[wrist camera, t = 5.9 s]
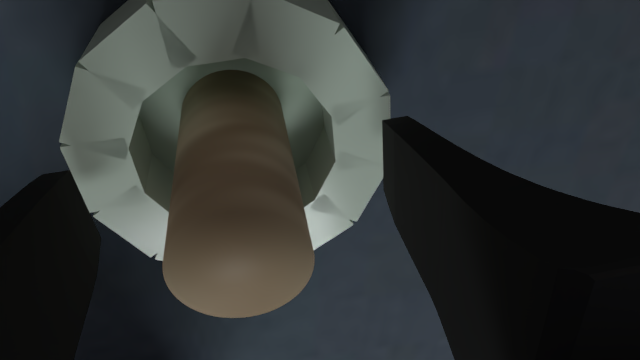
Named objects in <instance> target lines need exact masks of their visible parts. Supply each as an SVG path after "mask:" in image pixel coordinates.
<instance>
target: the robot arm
mask: <svg viewBox="0 0 640 360" xmlns="http://www.w3.org/2000/svg"><path fill="white" fill-rule="evenodd" d="M382 138H383V182H384V192H385V196H386V199H387V202H388V205H389V208H390V211H391V214H392V217H393V220H394V223H395V225H396V227H397V229H398V231H399V233H400V235H401V237H402V239H403V241H404V243H405V246H406V248H407V250H408V252H409V254H410V256H411V258H412V260H413V262H414V264H415V266H416V268H417V270H418V272H419V274H420V276H421V278H422V280H423V282H424V284H425V286H426V288H427V290H428V292H429V294H430V296H431V298H432V301H433V303H434V305H435V307H436V310H437V312H438V315H439V318H440V320H441V323H442V326H443V329H444V331H445V334H446V337H447V340H448V342H449V345H450V348H451V351H452V354H453V356H454V359H455V360H640V213H638V212H633V211H629V210H624V209H620V208H615V207H611V206H607V205H603V204H599V203H595V202H591V201H588V200H584V199H581V198H578V197H574V196H571V195H568V194H565V193H561V192H558V191H555V190H552V189H549V188H546V187H543V186H541V185H538V184H536V183H533V182H531V181H528V180H526V179H523V178H521V177H518V176H516V175H513V174H511V173H509V172H506V171H504V170H502V169H500V168H498V167H496V166H494V165H492V164H490V163H488V162H486V161H484V160H482V159H480V158H478V157H476V156H474V155H472V154H471V153H469V152H467V151H465V150H463V149H462V148H460V147H458V146H456V145H455V144H453V143H451V142H450V141H448V140H446V139H445V138H443V137H441V136H440V135H438V134H437V133H435V132H433V131H432V130H430V129H428V128H427V127H425V126H424V125H422V124H420V123H419V122H417V121H415V120H414V119H412V118H410V117H408V116H405V117H399V118H392V119H386V120H382ZM100 244H101V237H100V235H99V233H98V230H97V228H96V226H95V224H94V222H93V219H92V217H91V215H90V213H89V211H88V209H87V206H86V204H85V202H84V200H83V198H82V196H81V193H80V191H79V189H78V187H77V185H76V182H75V180H74V178H73V176H72V174H71V172H70V170H68V171H62V172H55V173H49V174H43V175H41V176H39V177H38V178H36V179H35V180H34V181H32V182H31V183H30V184H28V185H27V186H26V187H24V188H23V189H22V190H21V191H20V192H18V193H17V194H16V195H15V196H13V197H12V198H11V199H10V200H9V201H8V202H6V203H5V204H4V205H3V206H2V207H0V360H74V356H75V353H76V349H77V346H78V342H79V338H80V335H81V331H82V328H83V324H84V321H85V317H86V314H87V310H88V307H89V303H90V299H91V296H92V292H93V288H94V285H95V281H96V277H97V270H98V263H99V254H100Z"/></svg>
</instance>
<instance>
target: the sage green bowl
mask: <svg viewBox="0 0 640 360" xmlns="http://www.w3.org/2000/svg"><path fill="white" fill-rule="evenodd" d="M222 70H241V71H246V72H249V73H252V74H254V75H256V76H258V77H260V78H261V79H263V80H264V81H266V82H267V83H268V84H269V85H270V86H271V87H272V88H273V89H274V91H275V92H276V94H277V96H278V98H279V100H280V103H281V107H282V111H283V116H284V120H285V125H286V129H287V134H288V138H289V143H290V147H291V152H292V156H293V161H294V165H295V170H296V174H297V179H298V183H299V188H300V192H301V197H302V201H303V206H304V210H305V215H306V219H307V224H308V228H309V233H310V237H311V242H312V246H313V250H315V249H317V248H318V247H320V246H321V245H323V244H324V243H326V242H327V241H329V240H331V239H332V238H334V237H335V236H337V235H338V234H340V233H341V232H343V231H345V230H346V229H348V228H349V227H351V226H352V225H354V224H353V221H357V220H358V219H359V217H360V215H361V214H362V212H363V210H364V209H365V207H366V205H367V204H368V202H369V200H370V199H371V197H372V195H373V194H374V192H375V190H376V189H377V187H378V185H379V184H380V182H381V180H382V179H383V138H382V120H386V119H390V94H389V93H388V89H387V87H386V86H385V84H384V83H383V81H382V79H381V78H380V76H379V75H378V73H377V71H376V70H375V68H374V67H373V65H372V63H371V62H370V60H369V59H368V57H367V55H366V54H365V52H364V51H363V49H362V48H361V47H360V45H359V44H358V42H357V41H356V39H355V38H354V37H353V35H352V34H351V32H350V31H349V29H348V28H347V26H346V25H345V24H344V22H343V21H342V19H341V18H340V16H339V15H338V13H337V12H336V11H335V9H334V8H333V6H332V5H331V3H330V2H329V1H328V0H128V1H127V2H126V3H124V4H123V5H122V6H121V7H120V8H119V9H117V10H116V11H115V12H114V13H113V14H112V15H111V16H109V17H108V18H107V19H106V20H105V21H104V22H102V23H101V24H100V26H99V27H98V29H97V31H96V32H95V34H94V36H93V37H92V39H91V41H90V43H89V44H88V46H87V48H86V49H85V51H84V53H83V54H82V56H81V58H80V59H79V61H78V63H77V64H76V66H75V70H74V74H73V79H72V84H71V88H70V93H69V98H68V102H67V107H66V112H65V116H64V121H63V126H62V130H61V135H60V140H59V142H60V143H62V144H61V146H60V149H61V151H62V154H63V156H64V158H65V160H66V162H67V164H68V167H69V169H70V171H71V173H72V175H73V178H74V180H75V182H76V184H77V186H78V188H79V191H80V193H81V195H82V197H83V199H84V202H85V204H86V206H87V208H88V210H89V212H90V213H91V212H94V214H93V217H94V218H96V219H97V220H98V221H100V222H101V223H103V224H104V225H105V226H107V227H108V228H110V229H111V230H112V231H114V232H115V233H117V234H118V235H120V236H121V237H122V238H124V239H125V240H127V241H128V242H129V243H131V244H132V245H134V246H135V247H136V248H138V249H139V250H141V251H142V252H143V253H145V254H146V255H148V256H149V257H150V258H151V257H152V256H154V255H155V254H156V256H155V260H160V261H163V256H164V248H165V240H166V232H167V224H168V216H169V208H170V199H171V191H172V183H173V175H174V167H175V159H176V151H177V142H178V134H179V126H180V118H181V110H182V104H183V101H184V98H185V96H186V94H187V92H188V91H189V89H190V88H191V87H192V86H193V85H194V84H195V83H196V82H197V81H198V80H200V79H201V78H203V77H204V76H206V75H209V74H211V73H214V72H217V71H222ZM352 220H353V221H352Z"/></svg>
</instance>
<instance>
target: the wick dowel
mask: <svg viewBox="0 0 640 360" xmlns="http://www.w3.org/2000/svg"><path fill="white" fill-rule="evenodd" d="M162 267H163V276H164V280H165V282H166V284H167V287H168V288H169V290H170V291H171V293H172V294H173V295H174V296H175V297H176V298H177V299H178V300H179V301H181V302H182V303H183V304H185V305H186V306H188V307H190V308H191V309H194V310H196V311H198V312H201V313H204V314H207V315H211V316H216V317H223V318H243V317H251V316H256V315H260V314H264V313H267V312H270V311H272V310H275V309H277V308H279V307H281V306H283V305H284V304H286V303H287V302H289V301H291V300H292V299H293V298H294V297H295V296H297V295H298V294H299V293H300V292H301V291H302V290H303V288H304V287H305V286H306V284H307V283H308V281H309V279H310V277H311V275H312V272H313V268H314V251H313V246H312V242H311V237H310V233H309V228H308V224H307V219H306V215H305V210H304V206H303V201H302V197H301V192H300V188H299V183H298V179H297V174H296V170H295V165H294V161H293V156H292V152H291V147H290V143H289V138H288V134H287V129H286V125H285V120H284V116H283V111H282V107H281V103H280V100H279V98H278V96H277V94H276V92H275V91H274V89H273V88H272V87H271V86H270V85H269V84H268V83H267V82H266V81H264V80H263V79H261V78H260V77H258V76H256V75H254V74H252V73H249V72H246V71H241V70H222V71H217V72H214V73H211V74H209V75H206V76H204V77H203V78H201V79H200V80H198V81H197V82H196V83H195V84H194V85H193V86H192V87H191V88H190V89H189V91H188V92H187V94H186V96H185V98H184V101H183V104H182V110H181V118H180V126H179V134H178V142H177V151H176V159H175V167H174V175H173V183H172V191H171V199H170V208H169V216H168V224H167V232H166V240H165V248H164V256H163V265H162Z"/></svg>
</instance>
